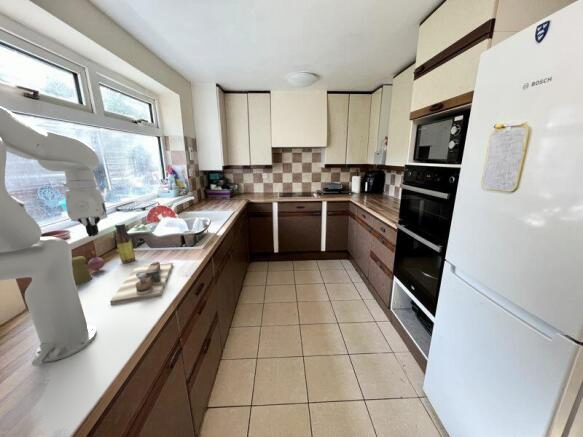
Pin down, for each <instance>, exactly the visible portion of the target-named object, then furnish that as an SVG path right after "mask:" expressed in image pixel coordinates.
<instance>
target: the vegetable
mask: <svg viewBox="0 0 583 437" xmlns="http://www.w3.org/2000/svg"><path fill="white" fill-rule="evenodd" d="M91 253H92V255H93V258H91V259H90V260H89V261H88V262H87V268H88V269H90V270H92V271H95V272H98V271H100V270H101V269H102V268H103V267H105V260H104V259H103V258H102V257H100V256H99V257H98V256H97V253H96V252H95V251H93V250H92V251H91Z"/></svg>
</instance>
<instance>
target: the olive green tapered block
mask: <svg viewBox="0 0 583 437" xmlns="http://www.w3.org/2000/svg"><path fill="white" fill-rule="evenodd" d="M86 263H87V258H86V257H85V256H83V255H82V256H81V255H79V256H75V257H72V271H73V276H74V280H75V284H76V285H82V284H85V283H88V282H91V281H92V280H93V277H92V275H91V273H90V270H89V267H88V265H87V264H86Z"/></svg>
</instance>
